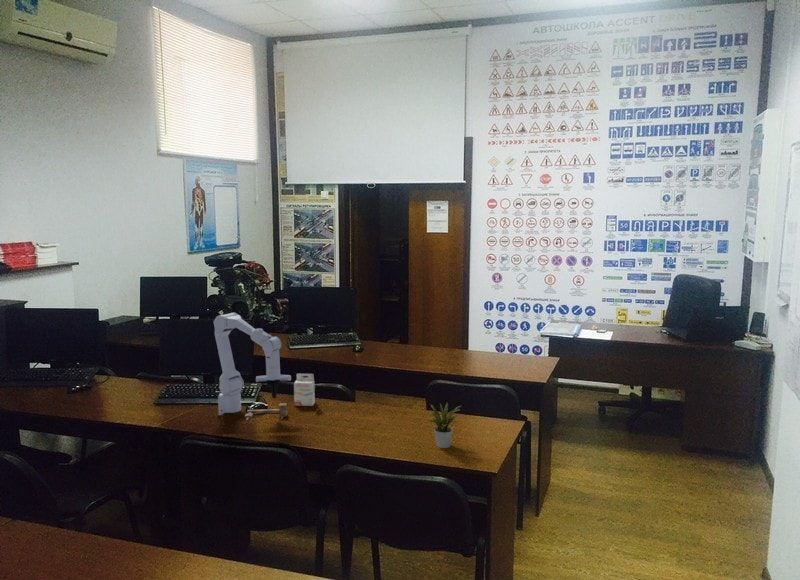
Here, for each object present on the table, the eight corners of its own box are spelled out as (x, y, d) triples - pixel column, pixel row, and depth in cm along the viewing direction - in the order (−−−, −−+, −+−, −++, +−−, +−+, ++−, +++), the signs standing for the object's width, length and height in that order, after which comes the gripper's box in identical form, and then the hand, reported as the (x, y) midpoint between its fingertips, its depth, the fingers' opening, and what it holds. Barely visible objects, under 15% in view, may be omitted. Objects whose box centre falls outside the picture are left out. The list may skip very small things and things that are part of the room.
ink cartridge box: (294, 408, 280) (292, 376, 279) (297, 404, 285) (295, 373, 284) (312, 408, 280) (311, 376, 278) (315, 404, 285) (314, 373, 283)
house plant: (467, 453, 224) (467, 408, 222) (429, 454, 222) (428, 410, 221) (460, 439, 238) (460, 397, 236) (424, 440, 237) (424, 398, 235)
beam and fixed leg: (243, 420, 262) (243, 417, 261) (248, 413, 271) (247, 409, 271) (283, 419, 262) (283, 416, 262) (287, 412, 272) (287, 408, 272)
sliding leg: (278, 418, 262) (277, 407, 261) (281, 411, 272) (281, 400, 271) (285, 418, 262) (284, 407, 262) (288, 411, 272) (288, 400, 271)
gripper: (253, 368, 258) (255, 400, 260) (288, 367, 259) (290, 399, 260) (257, 364, 265) (258, 395, 267) (291, 363, 266) (292, 394, 267)
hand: (274, 397), depth 264 cm, fingers closed
